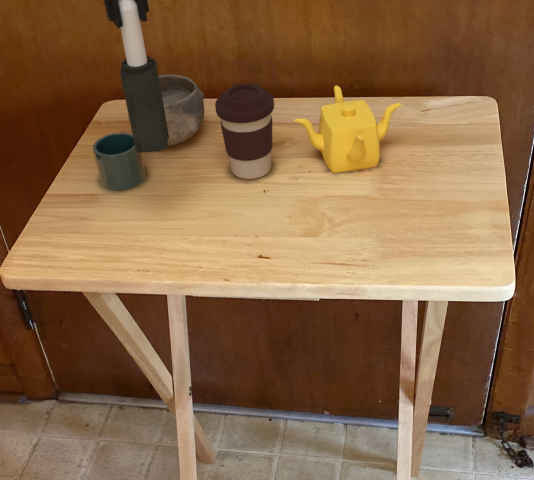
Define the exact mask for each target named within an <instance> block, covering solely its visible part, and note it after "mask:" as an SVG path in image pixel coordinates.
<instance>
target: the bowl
mask: <svg viewBox="0 0 534 480" xmlns="http://www.w3.org/2000/svg"><path fill="white" fill-rule="evenodd" d="M159 81H160V87H161V93H162V99H163V105H164V111H165V117H166V123H167V128H168V134H169V138H168V147H171V146H175V145H178V144H181V143H184V142H186V141H187V140H189V139H190V138H191V137H193V136H195V134H196V133H197V132H198V130H199V129H200V127H201V125H202V124H203V122H204V119H205V103H204V97H205V94H204V93H203V91H201V90H200V88H199V87H198V85H197V84H196V83H195V82H194V80H192V78H190V77H187V76H185V75H180V74H160V75H159ZM128 122H129V123H130V120H129V119H128Z"/></svg>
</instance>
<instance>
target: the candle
mask: <svg viewBox="0 0 534 480" xmlns="http://www.w3.org/2000/svg"><path fill="white" fill-rule="evenodd" d="M118 3H119V9H120V14H121V19H122V24H123V26H122V27H121V28H120V34H121V38H122V44H123V49H124V55H125V59H124V60H123V61H122V62H121V67H120V70H119V74H120V80H121V85H122V89H123V94H124V100H125V105H126V109H127V114H128V121H129V120H130V122H129V125H130V129H131V134H132V135H133V139H134V144H135V149H136V151H137V152H139V153H141V154H143V153H144V154H146V153H156V152H163V151H166V150H167V149H168V148H169V146H168V138H169V134H168V128H167V123H166V117H165V111H164V105H163V99H162V93H161V87H160V81H159V76H160V75H159V71H158V63H157V60H156V59H155V58H152V57H151V56H149V55H147V51H146V45H145V41H144V35H143V29H142V23H141V20H140V17H139V12H138V6H137V3H136V2H135V1H134V0H118Z"/></svg>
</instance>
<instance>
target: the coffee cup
mask: <svg viewBox="0 0 534 480" xmlns="http://www.w3.org/2000/svg"><path fill="white" fill-rule="evenodd" d="M274 98H275V97H274V95H273V94H272V93H270V92H269V91H267V90H266V89H264V88H262V87H261V86H260V85H259V84H256V83H248V82H247V83H245V82H244V83H238V84H233V85H231V86H229V87H228V88H226V89H225V90H224V92H223V93H222V94H220V95H219V96H218V97H217V98H216V100H215V103H214V107H215V113H216V115H217V117H218V118H219V119H220V128H221V132H222V139H223V142H224V148H225V152H226V154H227V156H228V160H229V166H230V171H231V173H232V174H233V175H234V176H235V177H237V178H239V179H243V180H255V179H259V178H262V177H264V176H266V175H267V174H268V173H269V172H270V171H271V170H272V150H273V116H272V113H273V112H274V109H275V100H274Z"/></svg>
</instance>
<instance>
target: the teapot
mask: <svg viewBox="0 0 534 480" xmlns="http://www.w3.org/2000/svg"><path fill="white" fill-rule="evenodd" d="M333 92H334V102H333V103H331V104H325V105H322V106H321V107H320V108H321V109H320V114H319V122H318V132H317V131H315V129H314V125H313V124H312V122H311V121H310V120H309V119H308V118H295V119H294V120H293V121H294V122H295V123H298V124H300V125H302V127H303V128H304V129H305V131H306V134H307V137H308V140H309V143H310V144H311V145H312V146H313V148H315V149H316V150H318V151H320V152H321V155H322V158H323V160H324V163H325V164H326V166H327V168H328V169H329V171H330V172H331V173H333V174H334V173H336V174H337V173H345V172H351V171H358V170H364V169H369V168H370V169H371V168H375V167H378V166H379V164H380V158H381V148H380V147H381V145H380V142H381V141H382V140H383V139H384V138H385V137H386V135H387V133H388V130H389V127H390V123H391V118H392V116H393V114H394V112H395V111H396V110H397V109H399V108H400V107H402V103H400V102H398V103H393V104H391V105H389V106H387V107H386V108H385V110H384V112H383V114H382V117H381V119H380V121H379V122H378V123H377V120H376V117H375V115H374V113H373V111H372V109H371V108H370V106H369V105H368V103H367V102H366V101H365V100H363V99H358V100H349V101H345V99H344V96H343V91H342V88H341V87H340V86H339V85H334V87H333Z"/></svg>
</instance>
